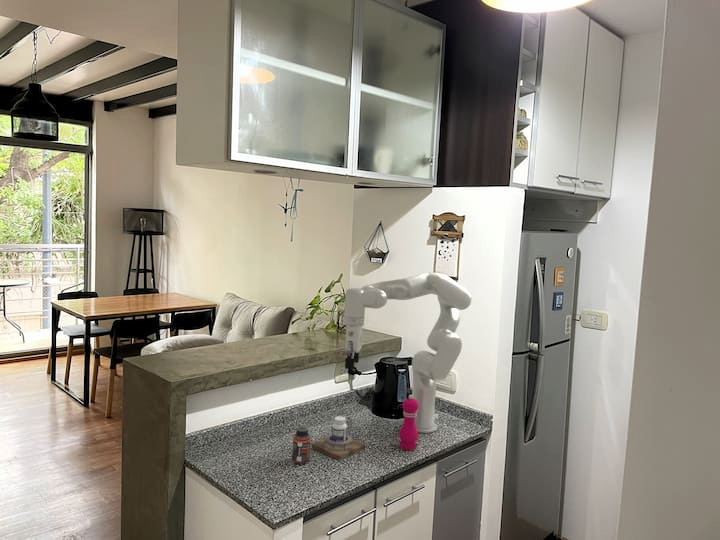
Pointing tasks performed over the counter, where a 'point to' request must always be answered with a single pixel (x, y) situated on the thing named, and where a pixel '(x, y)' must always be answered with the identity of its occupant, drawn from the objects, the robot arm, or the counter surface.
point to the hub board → (338, 452)
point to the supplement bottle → (301, 446)
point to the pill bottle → (339, 429)
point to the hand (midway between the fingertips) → (351, 365)
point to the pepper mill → (409, 424)
